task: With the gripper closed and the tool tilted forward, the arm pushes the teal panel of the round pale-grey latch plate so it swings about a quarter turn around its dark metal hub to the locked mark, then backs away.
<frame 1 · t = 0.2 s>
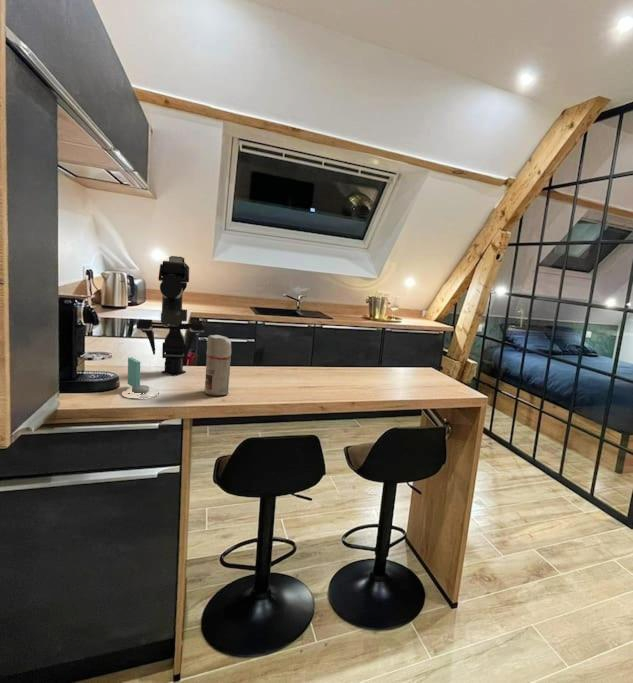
hand: (170, 354, 120), 16 cm above the counter, tool pointing down, fingers open, 9 cm apart
spray can: (216, 393, 137), on the counter
teal panel: (136, 374, 130), point 6 cm above the counter, hinge at 0.0°
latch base: (140, 393, 129), on the counter
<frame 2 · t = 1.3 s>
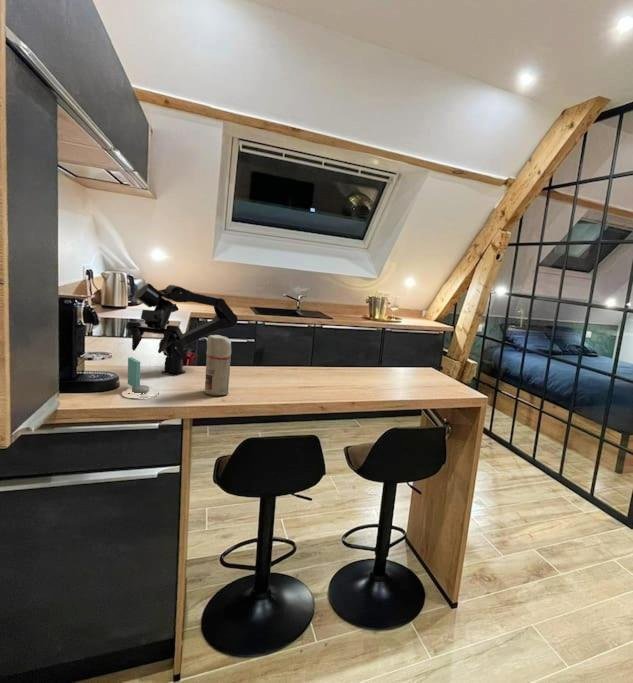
hand: (146, 351, 136), 12 cm above the counter, tool tilted 45°, fingers open, 9 cm apart
nothing on the counter moved.
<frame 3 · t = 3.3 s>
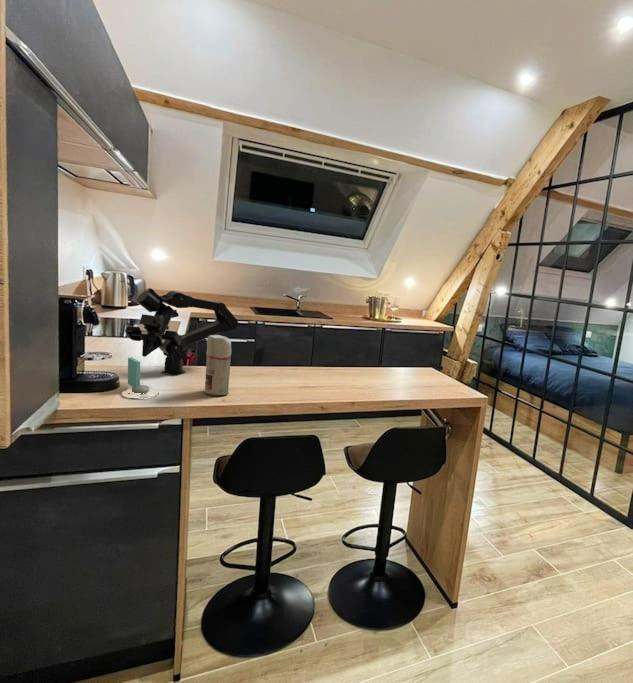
hand: (143, 355, 136), 10 cm above the counter, tool tilted 45°, fingers closed
nothing on the counter moved.
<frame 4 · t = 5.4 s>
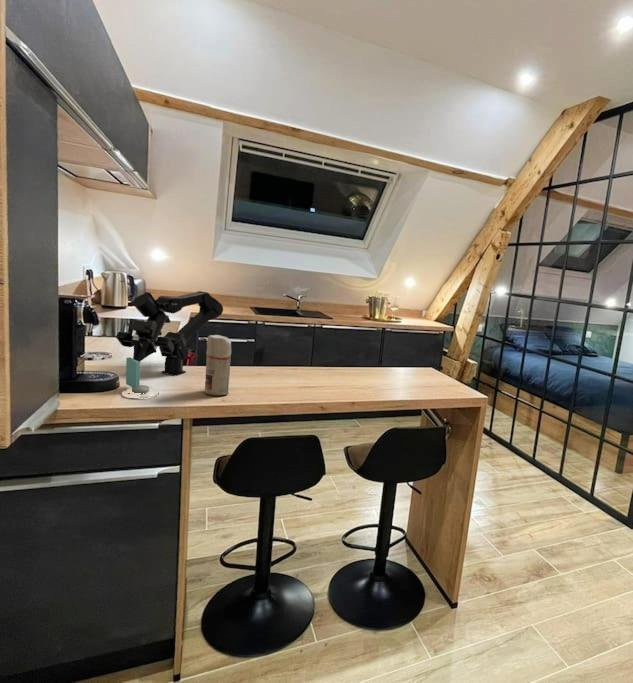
hand: (134, 362, 132), 9 cm above the counter, tool tilted 45°, fingers closed
teal panel: (136, 374, 130), point 6 cm above the counter, hinge at 3.7°, touching gripper
everything else where it was.
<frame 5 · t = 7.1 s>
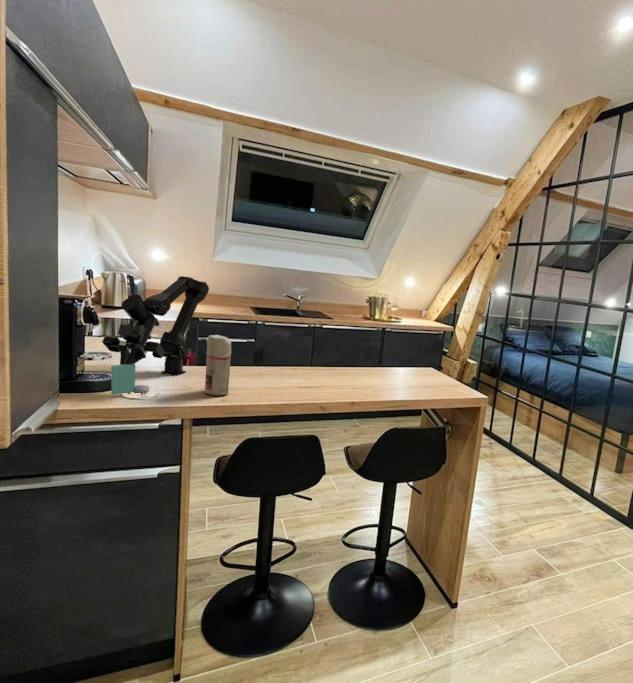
hand: (122, 369, 125), 8 cm above the counter, tool tilted 45°, fingers closed
teal panel: (131, 378, 126), point 6 cm above the counter, hinge at 83.0°, touching gripper
everything else where it was.
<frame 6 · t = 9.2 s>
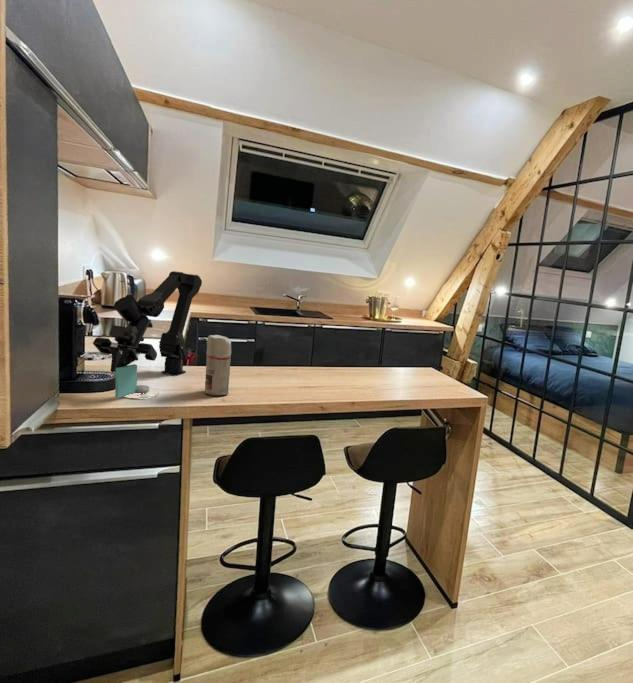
hand: (113, 372, 121), 8 cm above the counter, tool tilted 45°, fingers closed
teal panel: (132, 379, 125), point 6 cm above the counter, hinge at 104.5°, touching gripper
everything else where it was.
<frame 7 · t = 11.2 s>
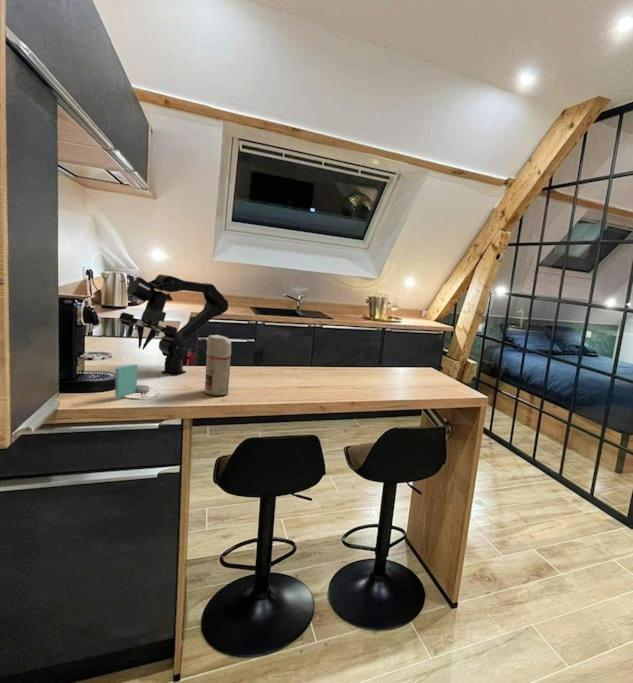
hand: (141, 348, 137), 12 cm above the counter, tool tilted 30°, fingers closed
teal panel: (132, 379, 125), point 6 cm above the counter, hinge at 104.7°
everything else where it was.
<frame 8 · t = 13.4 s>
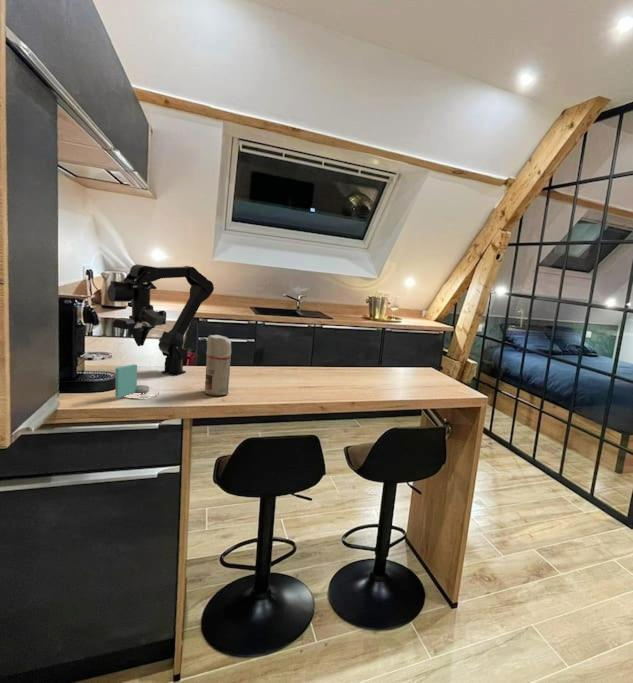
hand: (140, 345, 141), 12 cm above the counter, tool pointing down, fingers closed
nothing on the counter moved.
at the end: teal panel at +105° (first picture: +0°) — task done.
